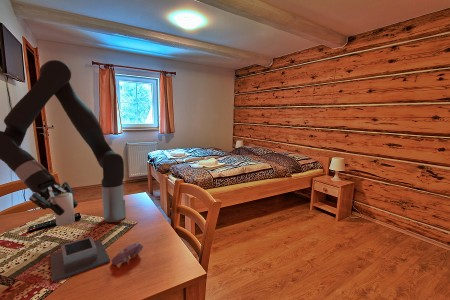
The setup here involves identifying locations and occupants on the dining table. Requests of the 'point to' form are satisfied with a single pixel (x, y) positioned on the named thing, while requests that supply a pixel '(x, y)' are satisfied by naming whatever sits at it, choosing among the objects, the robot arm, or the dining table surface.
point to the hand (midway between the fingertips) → (69, 209)
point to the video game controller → (127, 253)
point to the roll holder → (77, 258)
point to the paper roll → (65, 209)
